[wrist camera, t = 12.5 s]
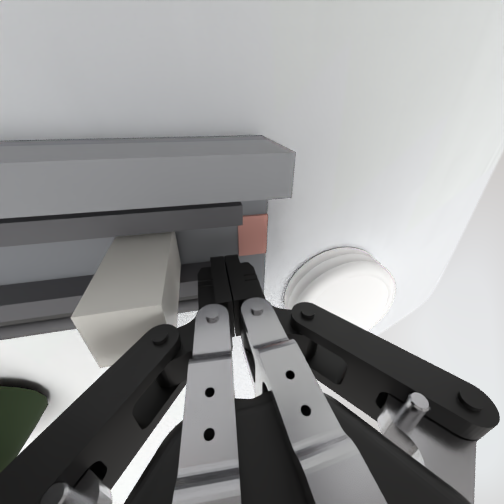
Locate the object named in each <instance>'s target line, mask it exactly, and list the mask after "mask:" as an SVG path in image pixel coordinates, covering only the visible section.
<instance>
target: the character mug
mask: <svg viewBox="0 0 504 504" xmlns="http://www.w3.org/2000/svg"><path fill="white" fill-rule="evenodd" d="M47 406H48V402H47V398H46V396H44V395H42V394H41V393H39V392H37V391H34V390H29V389H24V388H19V387H3V386H0V472H1V471H2V470H3V469H5V468H6V467H7V466H8V465H9V464H10V463H11V462H12V461H13V460H14V459H15V458H16V457H17V455H18V454H19V452H20V451H21V449H22V447H23V446H24V444H25V443H26V441H27V439H28V438H29V436H30V435H31V433H32V431H33V430H34V428H35V427H36V425H37V423H38V421H39V420H40V418H41V416H42V414H43V413H44V411H45V409H46V407H47Z"/></svg>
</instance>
